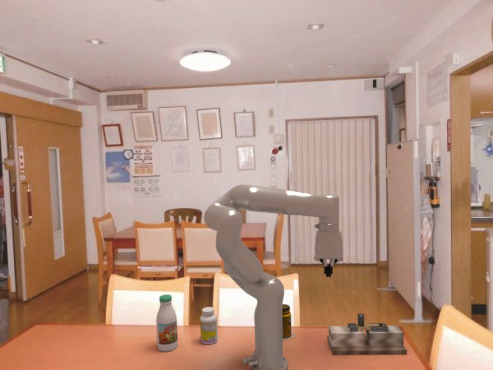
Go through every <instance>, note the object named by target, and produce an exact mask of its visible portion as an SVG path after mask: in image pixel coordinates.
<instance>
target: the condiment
mask: <svg viewBox="0 0 493 370" xmlns="http://www.w3.org/2000/svg"><path fill="white" fill-rule="evenodd" d="M282 330H283V341H285V340H288V339H292V338H294V337H296V336H297V335H296V334H294V333H292V312H291V306H290V305H289V304H287V303H286V304H285V303H283V304H282Z"/></svg>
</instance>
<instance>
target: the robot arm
mask: <svg viewBox="0 0 493 370" xmlns="http://www.w3.org/2000/svg"><path fill="white" fill-rule="evenodd" d="M241 210H244V211H249V212H253V213H254V212H255V213H268V214H277V215H278V214H279V215H287V216H304V217H313V218H318V221H317V224H314V228H315V229H317V230H316V233H315V241H314V256H313V260H314V261H317V262H320V263H321V264H322V265H323V274H324V275H325V276H326V278H331V277H332V275H333V274H334V273H333V270H334V265H336V264H337V263H338V262H343V261H344V243H343V242H344V241H343V234H342V231H340V198H339V196H338V195H337V194H331V193H330V194H320V195H318V194H311V193H303V192H298V191H294V190H289V189H285V188H284V189H283V188H276V187H268V186H260V185H252V184H238V185H235V186H234V187H232V188H230V189H229V190H228V191H227V192H226V193H224V194H223V195H222V196H220V197H219V198H218V199H217V200H215V201H214V202H213V203H212V204H210V205H209V206H208V207H207V208H206V210H205V212H204V216H203V221H204V224H205V225H206V227H208V228H209V229H211V230H212V231H215V232H216V234H215V249H216V252H217V254H218V255H219V257H220V258H221V259H222V260H223V269H224V271H225V273H226V274H227V275H228V277H230V279H232V281H233V282H234V283H235V284H236V285H237V286H238V287H239V288H240V289H241V290H242V291H243V292H245V294H247V295H249V296H250V297H252V298H254V299H255V300H256V301H257V302H256V305H255V309H254V313H253V315H254V317H253V321H254V322H253V323H254V351H252V355H251V354H250V356H248V357H243V358H242V359H241V363H242V365H248V367H251V369H252V370H287V368H288V366H289V362H288V359H287V358H286V357H285V356H284V340H283V330H282V304H284V303H283V302H284V297H285V286H284V284H283V282H282V280H280V279H279V278H278V277H276V276H275V275H273V274H270V273H269V272H266V271H264V266H263V265H262V262H261V260H259V258H258V257H257V256H256V255H255V254H254V253H253V252H252V251H251V250H250V249H249V248H248V246H247V245H246V244H245V243H244V241H243V240H242V236H241V234H242V229H243V216H242V214H241V213H240V211H241ZM327 260H329V263H328V261H327Z"/></svg>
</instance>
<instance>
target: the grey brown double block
mask: <svg viewBox="0 0 493 370" xmlns="http://www.w3.org/2000/svg"><path fill="white" fill-rule="evenodd" d="M387 326H388V332H387V331H386V332H372V330H358V332H350V328H348V325H331V326H329V325H328V335H327V337H326V338H327V342H328V345H329V347H330V351H331V353H332V355H333V356H351V355H352V356H356V355H357V356H359V355H360V356H361V355H363V356H364V355H365V356H366V355H367V356H369V355H370V356H373V355H377V356H379V355H382V356H383V355H407V354H408V352H407V349H406V347H405V345H404V341H405V340H404V339H405V338H404V337H405V335H404V331H403V330H402V329H401V328H400V326H399V325H387ZM364 331H365V332H364Z"/></svg>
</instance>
